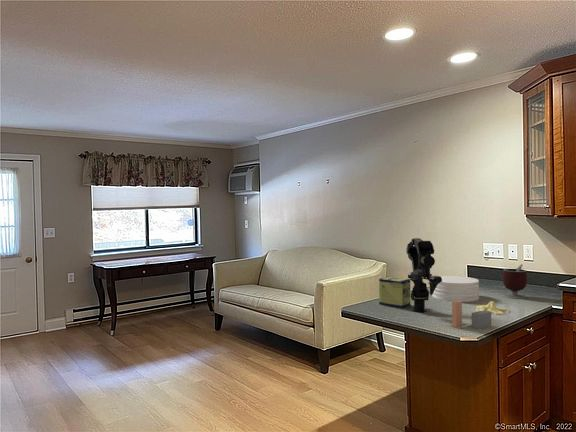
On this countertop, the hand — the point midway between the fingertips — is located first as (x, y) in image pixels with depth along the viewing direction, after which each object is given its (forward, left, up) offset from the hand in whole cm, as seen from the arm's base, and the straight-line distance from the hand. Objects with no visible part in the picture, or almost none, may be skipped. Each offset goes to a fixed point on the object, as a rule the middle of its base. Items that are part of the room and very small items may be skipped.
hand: (424, 293), depth 232 cm
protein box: (-17, -23, -12) cm, 31 cm away
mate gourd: (-79, +33, -12) cm, 86 cm away
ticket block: (+9, +27, -12) cm, 31 cm away
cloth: (-30, +27, -13) cm, 42 cm away
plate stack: (-58, +1, -12) cm, 59 cm away
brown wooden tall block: (+12, +19, -12) cm, 26 cm away
